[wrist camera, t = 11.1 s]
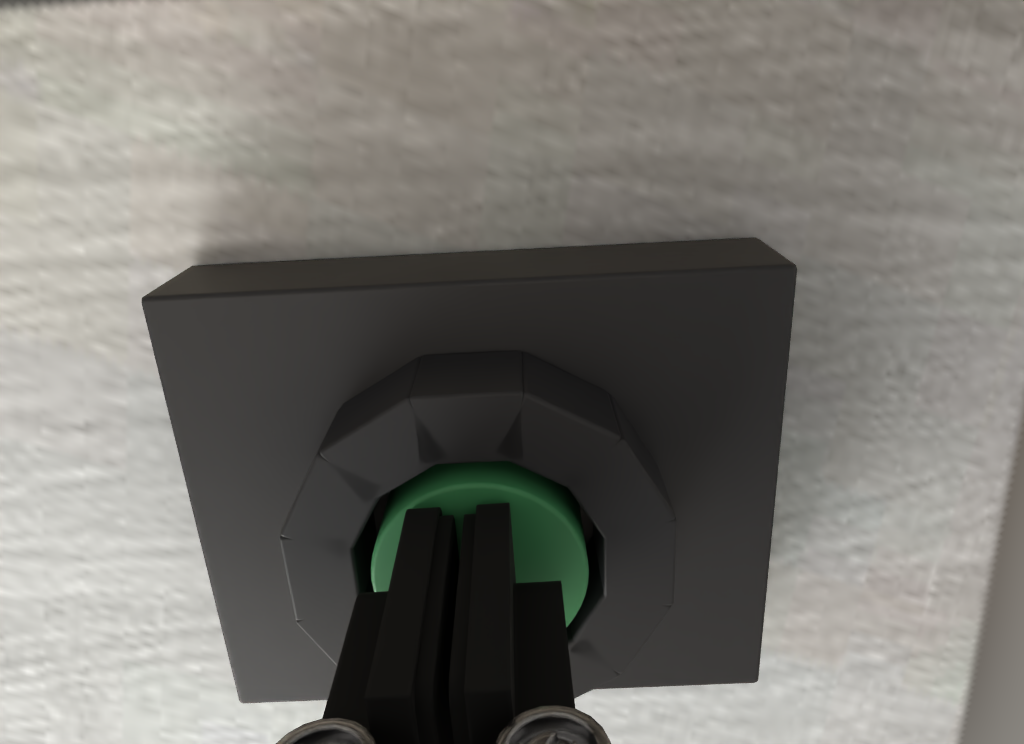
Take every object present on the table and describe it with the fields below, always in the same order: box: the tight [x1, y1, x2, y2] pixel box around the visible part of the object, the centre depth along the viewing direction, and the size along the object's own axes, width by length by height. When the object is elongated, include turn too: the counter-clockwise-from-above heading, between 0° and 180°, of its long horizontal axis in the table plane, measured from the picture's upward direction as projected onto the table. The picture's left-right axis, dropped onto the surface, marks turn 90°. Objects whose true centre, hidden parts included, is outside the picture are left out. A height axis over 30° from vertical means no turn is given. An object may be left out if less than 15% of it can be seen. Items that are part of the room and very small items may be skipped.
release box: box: [142, 238, 797, 703], centre depth 14 cm, size 11×9×4 cm
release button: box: [371, 461, 589, 628], centre depth 13 cm, size 4×4×2 cm
